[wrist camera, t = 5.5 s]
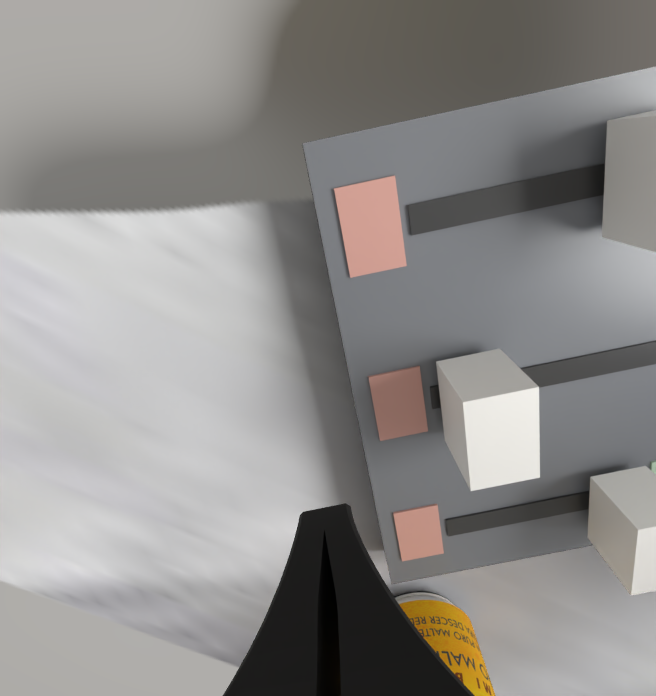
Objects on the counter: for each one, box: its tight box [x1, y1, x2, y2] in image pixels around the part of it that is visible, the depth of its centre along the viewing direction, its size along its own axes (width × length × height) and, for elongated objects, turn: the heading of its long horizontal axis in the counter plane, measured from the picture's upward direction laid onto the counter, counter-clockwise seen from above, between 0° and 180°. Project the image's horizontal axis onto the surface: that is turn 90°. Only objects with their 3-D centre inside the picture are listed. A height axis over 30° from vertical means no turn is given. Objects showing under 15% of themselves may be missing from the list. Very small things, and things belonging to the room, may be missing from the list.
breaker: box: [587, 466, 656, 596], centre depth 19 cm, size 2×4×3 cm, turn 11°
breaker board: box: [302, 67, 656, 584], centre depth 19 cm, size 15×20×2 cm
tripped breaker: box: [436, 349, 540, 491], centre depth 16 cm, size 2×4×3 cm, turn 11°
